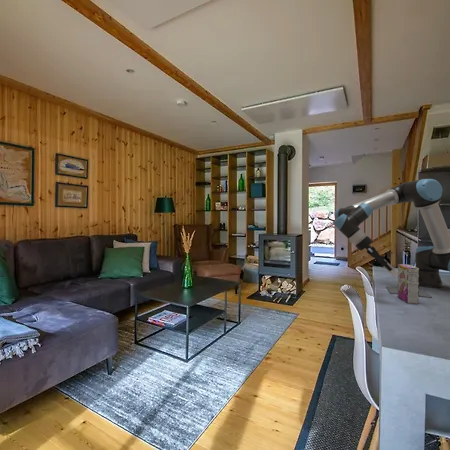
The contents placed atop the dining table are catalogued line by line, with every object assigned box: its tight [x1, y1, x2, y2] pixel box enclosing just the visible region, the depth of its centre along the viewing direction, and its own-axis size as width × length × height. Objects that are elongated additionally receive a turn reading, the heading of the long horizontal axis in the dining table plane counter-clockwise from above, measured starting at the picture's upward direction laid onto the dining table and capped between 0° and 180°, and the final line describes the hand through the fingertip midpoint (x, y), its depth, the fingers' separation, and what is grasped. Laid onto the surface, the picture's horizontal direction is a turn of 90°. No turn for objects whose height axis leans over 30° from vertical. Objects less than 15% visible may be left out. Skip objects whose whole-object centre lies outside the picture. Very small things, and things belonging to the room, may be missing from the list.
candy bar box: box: [397, 263, 420, 305], centre depth 132 cm, size 11×5×16 cm, turn 168°
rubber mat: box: [385, 286, 433, 299], centre depth 148 cm, size 18×16×1 cm
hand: (394, 273), depth 133 cm, fingers open, 13 cm apart
